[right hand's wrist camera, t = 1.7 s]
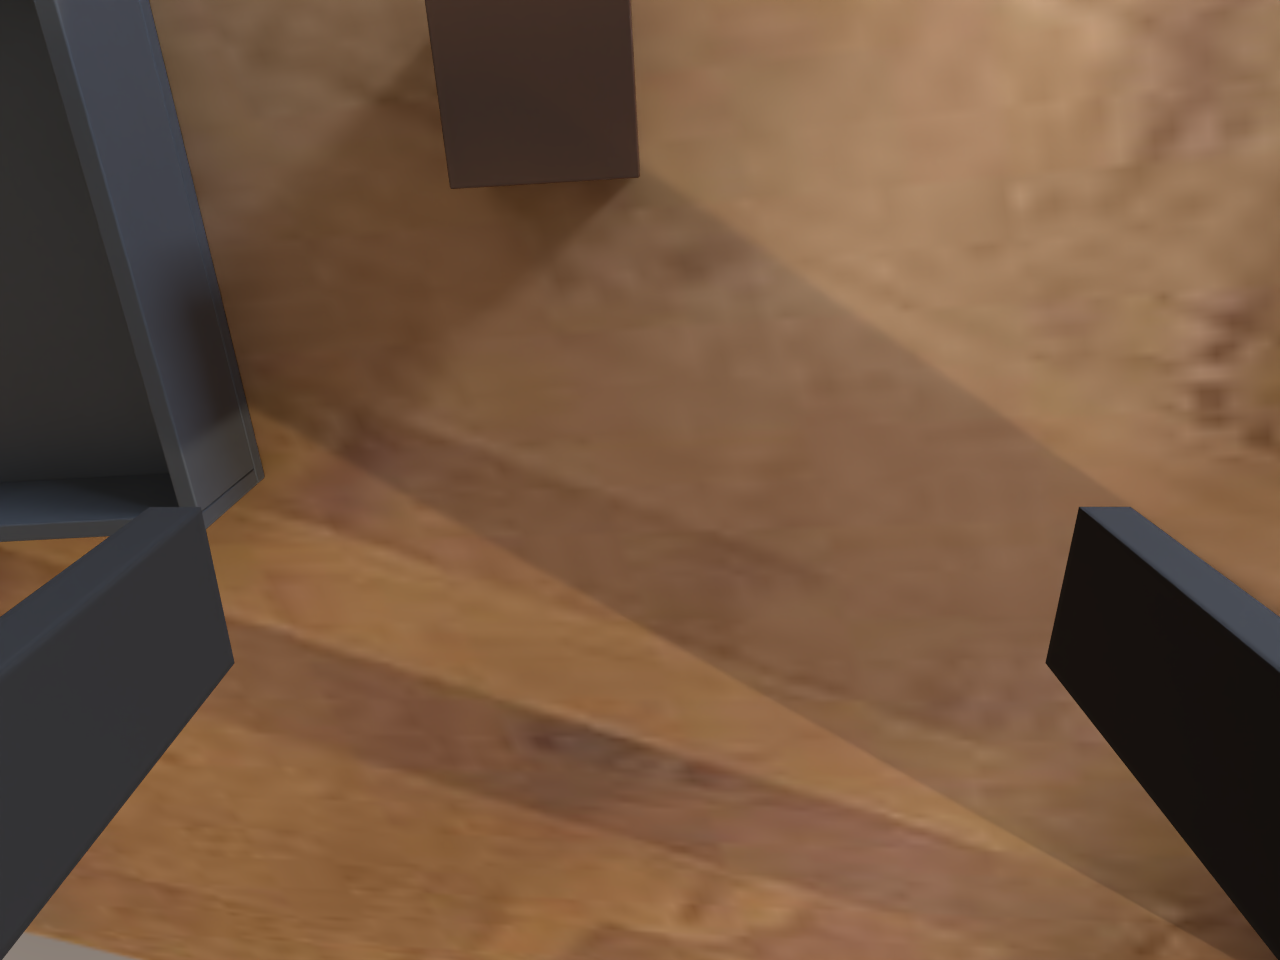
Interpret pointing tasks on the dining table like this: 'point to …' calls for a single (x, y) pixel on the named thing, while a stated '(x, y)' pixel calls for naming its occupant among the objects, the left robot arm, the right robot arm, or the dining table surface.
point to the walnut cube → (535, 90)
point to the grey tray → (106, 286)
